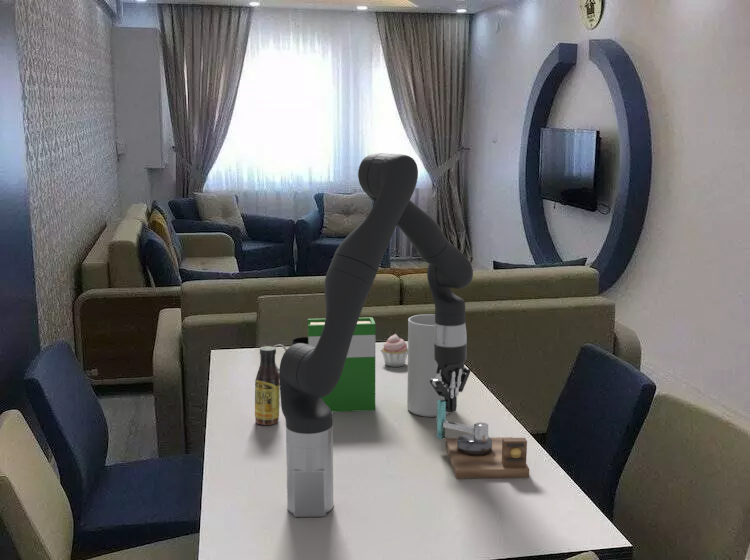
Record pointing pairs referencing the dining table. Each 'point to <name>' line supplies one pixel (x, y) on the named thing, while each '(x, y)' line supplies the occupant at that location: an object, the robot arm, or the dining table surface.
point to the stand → (491, 460)
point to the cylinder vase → (422, 366)
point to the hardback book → (352, 368)
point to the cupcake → (395, 351)
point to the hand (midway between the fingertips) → (450, 411)
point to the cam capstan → (468, 442)
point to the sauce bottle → (267, 388)
